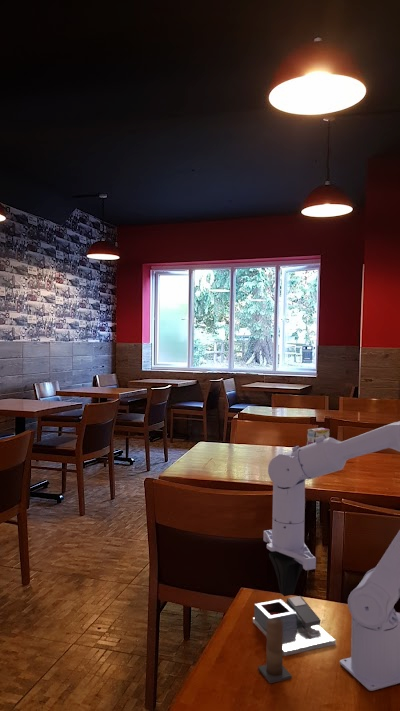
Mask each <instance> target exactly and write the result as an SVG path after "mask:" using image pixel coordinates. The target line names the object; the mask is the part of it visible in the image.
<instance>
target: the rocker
mask: <svg viewBox="0 0 400 711" xmlns="http://www.w3.org/2000/svg"><path fill="white" fill-rule="evenodd" d="M285 603H286V604H287V605H288V606H289V607H290V608H291V609H293V610H294V611H295V612H296V613H297V618H298V619H299V620H300V622H301V623H302V624H303V626H304V627H305V628H307V627H311V626H316V625H319V626H321V619H320V617H319V616H318V615H317V613H316V612H315V611H314V610H313V608H311V606H310V605H309V604H308V603H307V602H306V600H305V599H304V598H303V596H301V595H299V596H294V597H288V598H286V601H285Z"/></svg>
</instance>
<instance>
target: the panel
mask: <svg viewBox="0 0 400 711" xmlns="http://www.w3.org/2000/svg"><path fill="white" fill-rule="evenodd" d="M271 612H277V613H280V614H275V615H270V614H269V613H271ZM253 614H254V617H252V623H253V624H254V625H255V626H256V627H257V628H258V629H259V630H260V632H262V634H263V635H264V636H265V637H266V638H267V620H269V619H272V618H275V619H279V620H281V621H282V622H283V656H284V657H287V656H290V655H294V654H295V655H296V654H299V653H300V654H301V653H304V652H309V651H312V650H313V651H314V650H317V649H321V648H327V647H331V646H335V645H336V642H337V641H336V639H335V638H334V637H333V636H331V635H330V634H329V633H328V632H327V631H326V630H325V629H324V628H322V627H321V625H316V626H311V627H307V628H305V627H304V626H303V624H302V623H301V622H300V620H299V619H298V618H297V613H296V612H295V611H294V610H293V609H291V608H290V607H289V606H288V605H287V603H286V601H284V600H283V599H281V598H279V599H273V600H269V601H264V602H257V603H254V612H253Z"/></svg>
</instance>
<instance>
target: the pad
mask: <svg viewBox="0 0 400 711" xmlns="http://www.w3.org/2000/svg"><path fill="white" fill-rule="evenodd" d="M257 670H258V671H259V672H260V673H261V675H262V676H263V677H264V678H265V679H266V681H267V682H268V683H269V684H275V683H278V682H282V681H286V680H291V679H292V678H293V675H292V674H291V673H290V672H289V671H288V669H287V668H285V666H284V665H283V666H282V674H281V675H279V676H272V675H269V674H268V673H267V671H266V664H263V665H259V666H257Z"/></svg>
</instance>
